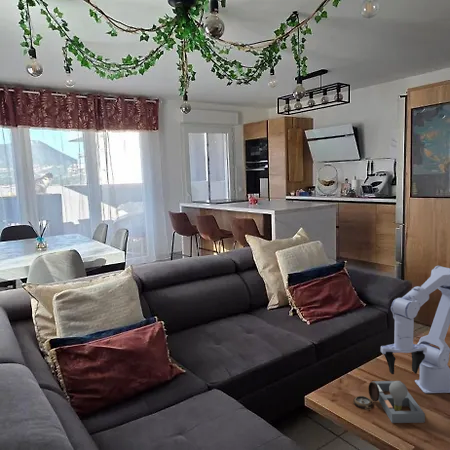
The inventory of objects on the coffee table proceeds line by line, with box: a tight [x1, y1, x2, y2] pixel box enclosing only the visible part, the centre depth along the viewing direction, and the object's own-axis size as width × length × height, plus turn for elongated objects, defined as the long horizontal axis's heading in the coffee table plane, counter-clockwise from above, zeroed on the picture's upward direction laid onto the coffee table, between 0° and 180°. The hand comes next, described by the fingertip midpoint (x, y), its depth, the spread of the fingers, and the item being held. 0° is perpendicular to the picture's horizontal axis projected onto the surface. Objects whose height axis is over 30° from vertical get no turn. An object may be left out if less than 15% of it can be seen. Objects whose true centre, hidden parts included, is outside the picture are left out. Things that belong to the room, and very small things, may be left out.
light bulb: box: [388, 380, 408, 411], centre depth 125 cm, size 6×6×10 cm
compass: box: [353, 381, 379, 411], centre depth 129 cm, size 8×8×7 cm
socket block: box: [371, 380, 426, 424], centre depth 129 cm, size 10×19×3 cm, turn 177°
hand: (403, 372), depth 130 cm, fingers open, 7 cm apart
